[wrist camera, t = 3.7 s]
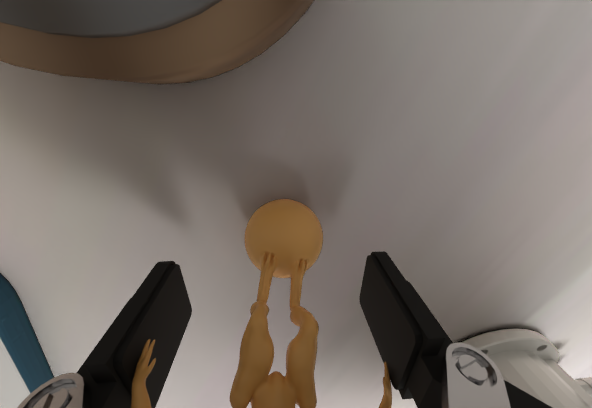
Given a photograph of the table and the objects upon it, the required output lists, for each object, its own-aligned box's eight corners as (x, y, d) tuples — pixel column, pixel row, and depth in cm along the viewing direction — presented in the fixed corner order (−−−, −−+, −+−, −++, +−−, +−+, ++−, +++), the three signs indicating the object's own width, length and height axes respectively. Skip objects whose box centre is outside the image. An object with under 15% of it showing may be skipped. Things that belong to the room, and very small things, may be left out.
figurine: (358, 204, 13) (710, 666, 3) (325, 279, 16) (432, 679, 5) (216, 170, 12) (-488, 1041, 1) (203, 258, 14) (-33, 785, 3)
